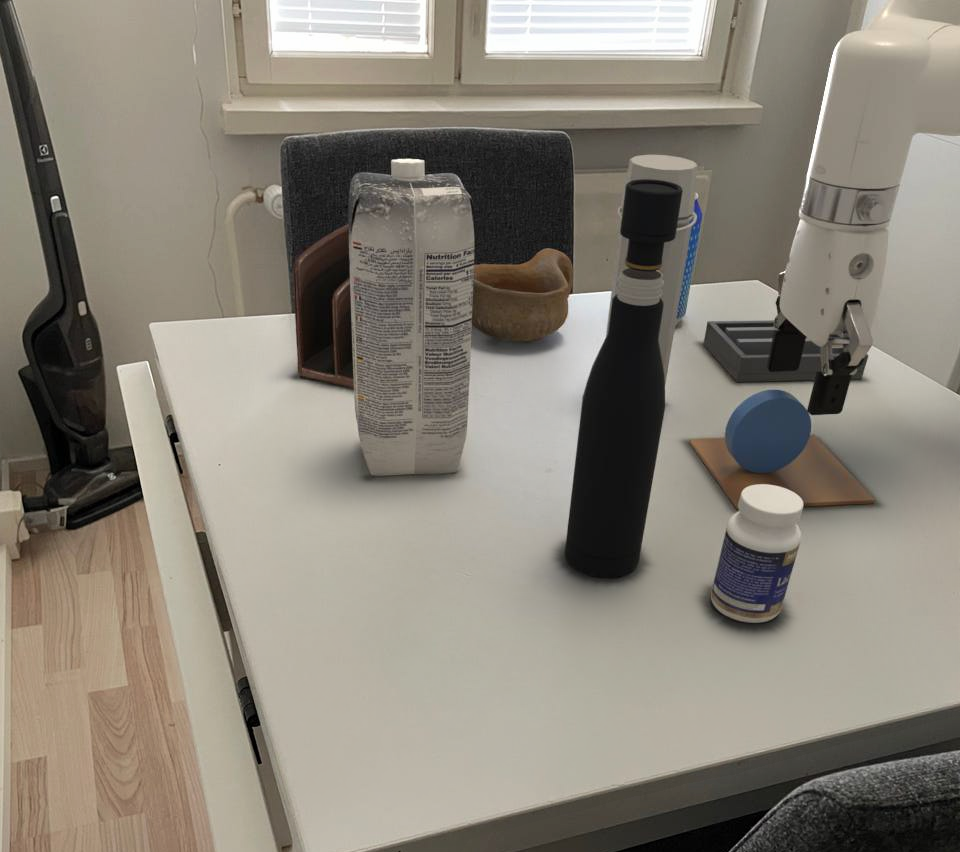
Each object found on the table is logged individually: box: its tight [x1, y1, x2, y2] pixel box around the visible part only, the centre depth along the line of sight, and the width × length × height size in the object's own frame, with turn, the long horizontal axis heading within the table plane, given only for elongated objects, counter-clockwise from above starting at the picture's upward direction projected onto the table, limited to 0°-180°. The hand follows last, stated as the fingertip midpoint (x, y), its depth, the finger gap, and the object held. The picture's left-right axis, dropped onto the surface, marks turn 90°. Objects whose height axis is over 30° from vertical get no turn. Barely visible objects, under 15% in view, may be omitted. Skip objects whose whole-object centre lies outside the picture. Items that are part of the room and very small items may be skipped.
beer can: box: [675, 191, 703, 327], centre depth 128 cm, size 8×8×16 cm
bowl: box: [472, 247, 574, 343], centre depth 125 cm, size 18×14×10 cm
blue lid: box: [724, 389, 812, 473], centre depth 97 cm, size 8×2×8 cm, turn 99°
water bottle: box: [605, 154, 698, 385], centre depth 103 cm, size 9×8×25 cm
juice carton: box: [347, 158, 475, 477], centre depth 90 cm, size 9×10×27 cm
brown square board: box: [688, 434, 876, 510], centre depth 99 cm, size 14×14×1 cm
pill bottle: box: [710, 484, 804, 624], centre depth 78 cm, size 6×6×10 cm
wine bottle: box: [564, 179, 683, 579], centre depth 76 cm, size 6×6×30 cm
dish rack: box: [703, 319, 869, 383], centre depth 122 cm, size 16×12×4 cm
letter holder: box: [292, 223, 354, 389], centre depth 114 cm, size 10×20×14 cm, turn 158°
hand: (802, 390), depth 95 cm, fingers open, 9 cm apart
